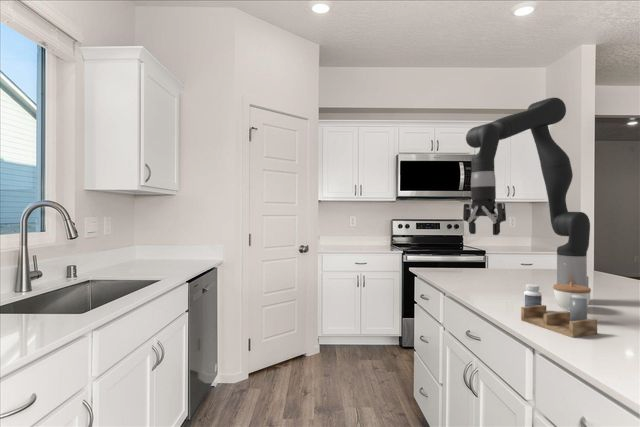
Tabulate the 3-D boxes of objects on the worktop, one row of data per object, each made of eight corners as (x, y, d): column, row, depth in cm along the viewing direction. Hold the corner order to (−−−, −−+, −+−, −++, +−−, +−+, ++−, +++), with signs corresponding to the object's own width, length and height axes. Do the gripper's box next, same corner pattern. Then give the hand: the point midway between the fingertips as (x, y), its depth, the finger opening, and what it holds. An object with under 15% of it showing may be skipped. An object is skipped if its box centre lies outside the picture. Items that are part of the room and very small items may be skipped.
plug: (576, 318, 120) (576, 293, 120) (590, 322, 116) (590, 296, 116) (566, 320, 118) (566, 294, 118) (579, 324, 114) (579, 297, 114)
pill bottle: (544, 314, 125) (544, 287, 125) (526, 313, 126) (526, 286, 126) (538, 310, 130) (538, 284, 130) (521, 309, 131) (521, 283, 131)
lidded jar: (584, 306, 134) (584, 280, 134) (595, 314, 124) (595, 285, 124) (549, 304, 138) (549, 278, 138) (557, 312, 128) (557, 283, 127)
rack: (543, 317, 121) (543, 304, 121) (597, 333, 105) (597, 319, 105) (521, 320, 118) (521, 307, 118) (572, 337, 102) (572, 322, 102)
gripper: (510, 184, 123) (510, 234, 123) (471, 187, 135) (472, 232, 135) (496, 184, 119) (497, 236, 119) (457, 186, 131) (458, 234, 131)
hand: (483, 234), depth 127 cm, fingers open, 8 cm apart
